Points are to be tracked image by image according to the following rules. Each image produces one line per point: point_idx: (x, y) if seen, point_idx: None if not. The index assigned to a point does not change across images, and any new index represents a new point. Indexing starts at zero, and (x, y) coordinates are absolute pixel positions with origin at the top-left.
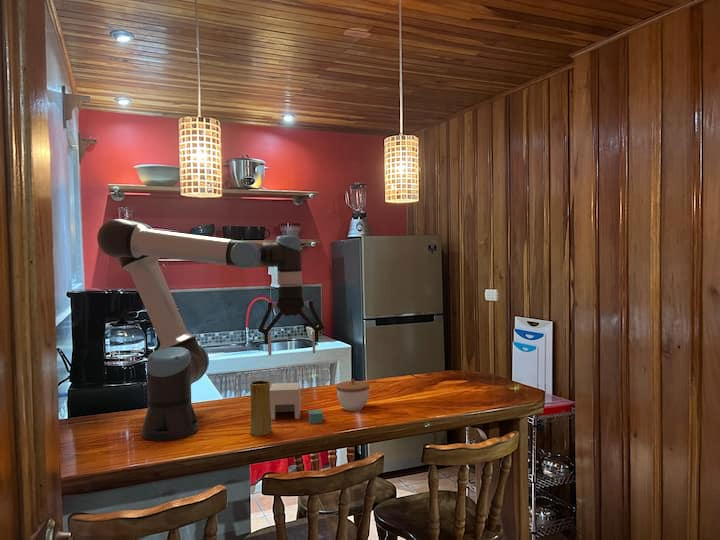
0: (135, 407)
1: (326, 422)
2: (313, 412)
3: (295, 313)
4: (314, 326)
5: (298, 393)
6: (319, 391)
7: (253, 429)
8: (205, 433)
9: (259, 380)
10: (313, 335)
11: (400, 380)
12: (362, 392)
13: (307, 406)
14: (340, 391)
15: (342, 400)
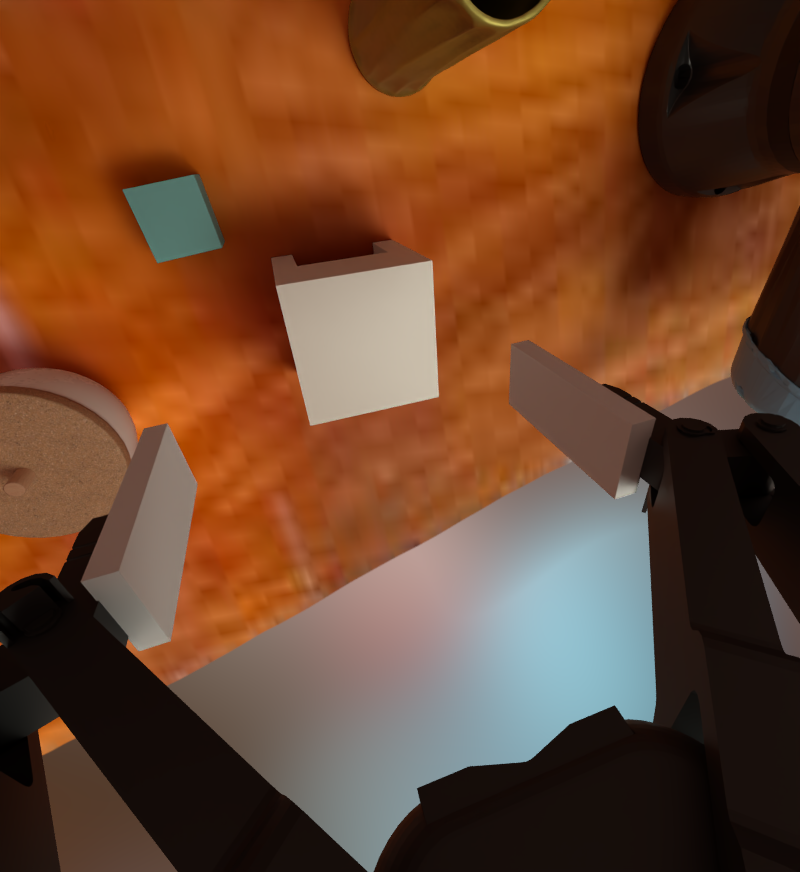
0: None
1: (117, 193)
2: (183, 209)
3: (440, 843)
4: (51, 668)
5: (278, 279)
6: (288, 574)
7: None
8: (614, 52)
9: (517, 23)
10: (113, 545)
11: None
12: None
13: (284, 419)
14: (82, 404)
15: (84, 381)
